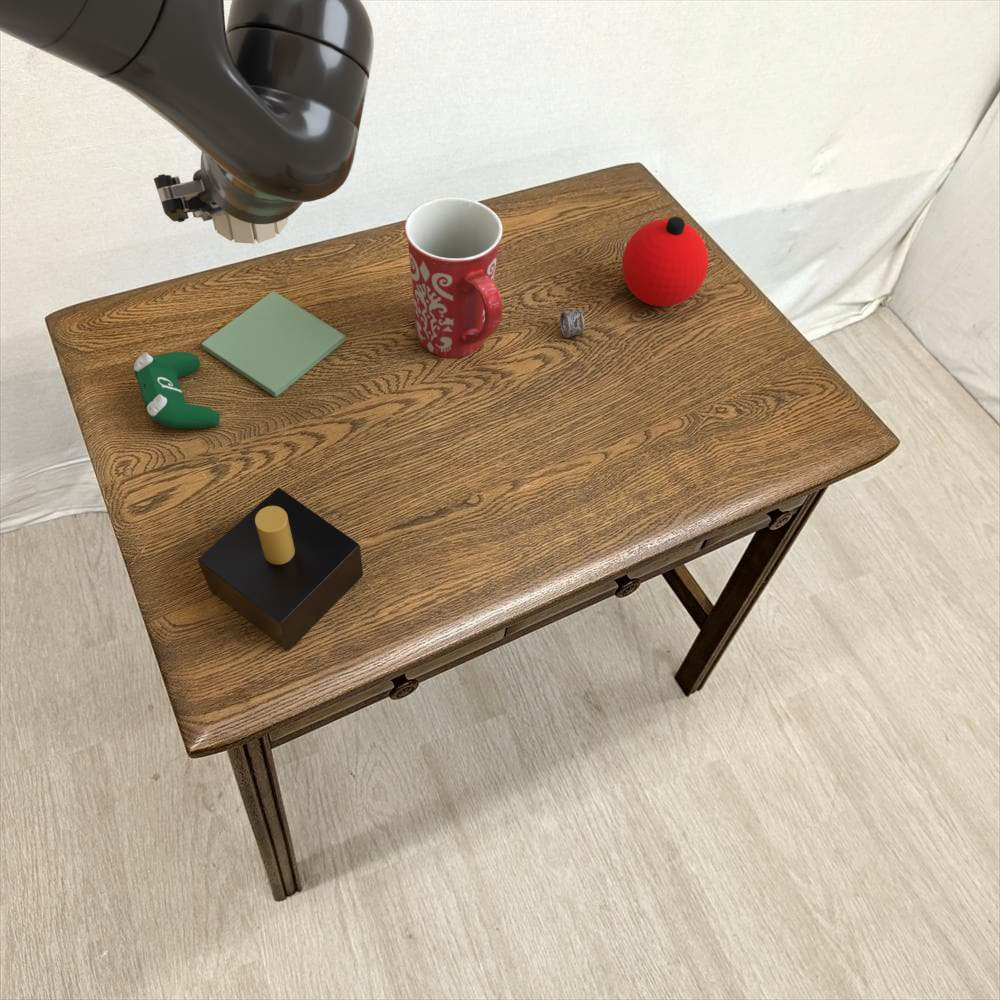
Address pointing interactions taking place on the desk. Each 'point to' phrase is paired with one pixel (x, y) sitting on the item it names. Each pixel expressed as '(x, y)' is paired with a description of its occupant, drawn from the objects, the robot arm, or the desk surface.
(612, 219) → the desk surface
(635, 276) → the ornament
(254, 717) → the desk surface
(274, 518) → the ring stand
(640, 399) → the desk surface
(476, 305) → the mug
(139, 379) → the gaming controller
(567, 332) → the decorative ring
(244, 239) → the ring
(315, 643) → the desk surface
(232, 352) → the mat
